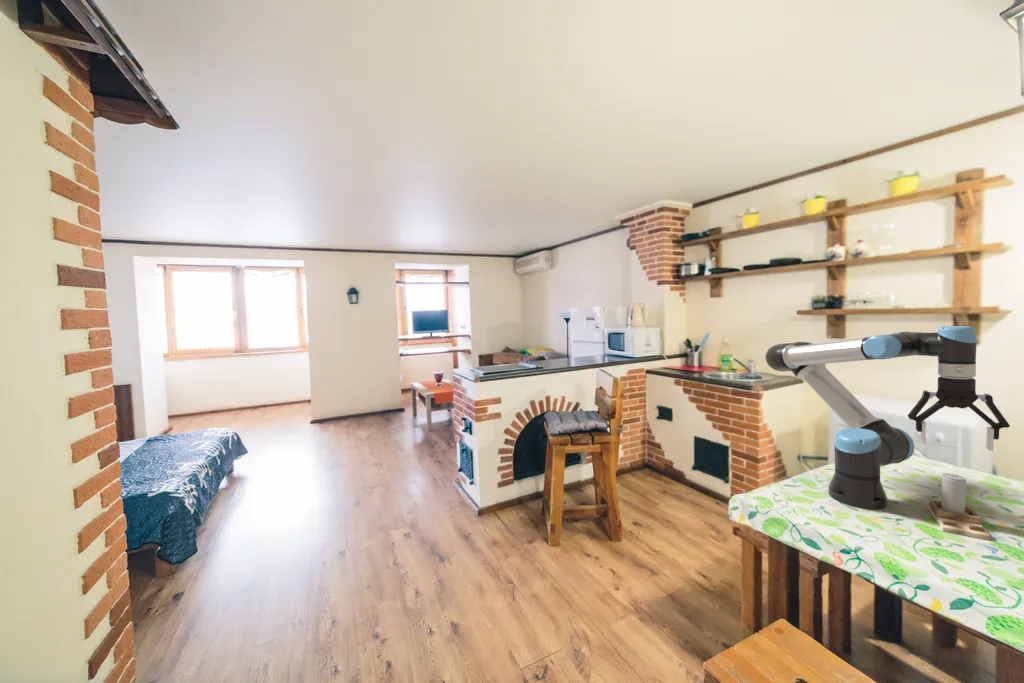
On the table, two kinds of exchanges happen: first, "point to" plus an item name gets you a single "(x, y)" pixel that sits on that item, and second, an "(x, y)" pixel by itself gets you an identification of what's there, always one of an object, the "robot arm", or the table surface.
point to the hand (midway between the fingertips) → (955, 445)
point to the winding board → (958, 521)
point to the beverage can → (953, 493)
